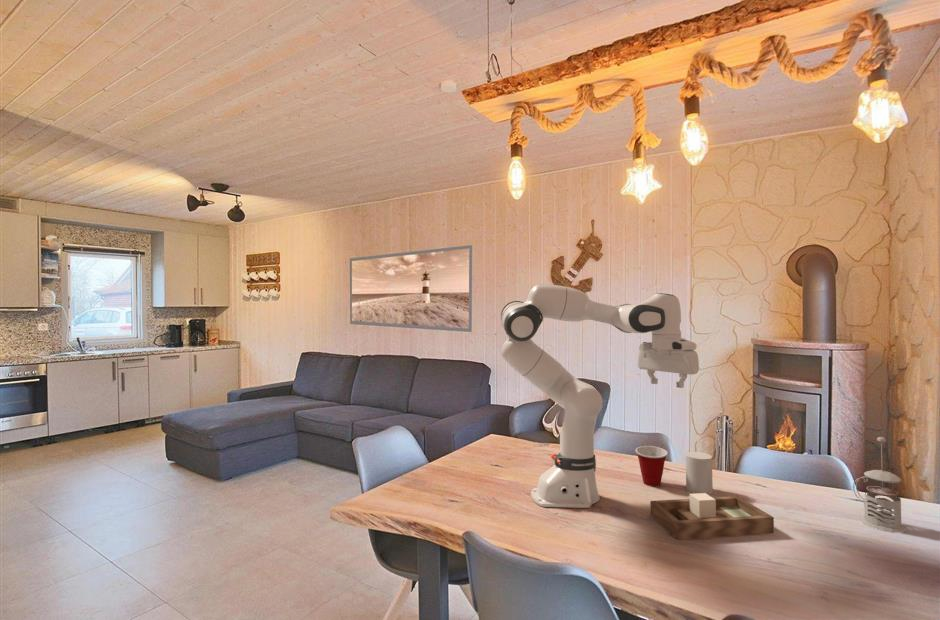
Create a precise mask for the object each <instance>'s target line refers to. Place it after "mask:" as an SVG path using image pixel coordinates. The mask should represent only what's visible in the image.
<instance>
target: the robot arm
mask: <svg viewBox="0 0 940 620" xmlns="http://www.w3.org/2000/svg"><path fill="white" fill-rule="evenodd" d="M681 312H682V310H681V303H680V299H679V298H678V297H677V296H676V295H673V294H669V293H663V292H662V293H661V292H660V293H658V292H657V293H655V294H653V295H652V296H650V297H649V298H648V299H646V300H643V301H641V302H638V303H633V304H632V303H624V304H620V305H610V304H606V303H601V302H596V301H593V300H591V298H590V297H589V296H588V294H587V293H585V292H584V291H582V290H579V289H576V288H573V287H568V286H563V285H559V284H558V285H557V284H544V283H543V284H536V285H533V287H532V288H531V289H530V291H529V293H528V295H527V299H526V300H525V301H524V302H523V301H520V300H515V301H514V300H513V301H510V302H508V303H507V304H505V305H504V307H503V308H502V310H501V313H500V321H501V324H502V325H501V326H502V328H503V330H504V331H505V333H506V335H507V339H506V340H505V341H504V343H503V344H502V346H501V347H502V348H501V356H502V358H503V359H504V360H505V362H507V364H508V365H509V366H510V367H511V368H513V369H514V371H516V373H518V374H519V375H520V376H522V377H523V378H524V379H525V380H527V381H528V382H529V383H531V384H532V385H534V386H535V387H536V388H537V389H539V390H540V391H541V392H542V393H544V394H545V396H547V397H548V398H549V399H551V400H552V401H553V402H554V403H556V405H558V406H559V407H561V408H563V409H564V415H563V416H564V417H563V422H562V427H561V428H560V430H559V449H560V450H559V453H558V454H557V453H555V452H552V453H551V454H550V458H551V459H552V460H553V461H554V464H553V465H552V466H551V467H550V468H549V469H547V470H545V471H544V472H543V473H542V474H541V475H539V478H538V483H537V487H534V488H532V489H531V493H530V494H531V495H530V496H531V498H532V500H533V501H534V502H535V503H536V504H537V505H539V506H541V507H543V508H546V507H547V508H575V509H576V508H577V509H582V508H583V509H588V508H589V509H590V508H591V507H592V505H593V504H595V503H598V502H599V501H600V499H601V498H600V494H599V490H598V485H597V481H596V480H597V479H596V467H597V461H596V454H595V442H594V441H595V435H594V434H595V428H596V423H597V418H598V417H597V416H598V414H599V413H600V412H601V410H602V408H603V404H604V403H603V396H602V395H601V392H599V391H598V390H597V388H595V386H593V385H591V384H589V383H588V382H585V381H583V380H580V379H578V378H576V377H575V376H574V375H572V373H570V372H569V371H568V370H567V369H566V368H565V367H564V366H563V365H562V364H561V363H560V362H559V361H558V360H557V359H556V358H554V357H553V356H552V355H550V354H549V353H547V352H546V351H545V350H544V349H543V348H541V347H540V346H539V345H537V344H536V343H535V342H534V341H533V340H532V338H533V337H534V336H535V335H536V333H537V332H538V330H539V328H540V326H541V324H542V322H543V321H544V319H545V318H546V319H552V320H557V321H562V322H572V323H573V322H575V323H577V322H583V321H587V320H588V321H594V322H600V323H605V324H609V325H611V326H613V327H615V328H616V329H618V330H619V332H622V333H625V334H626V333H627V334H631V333H633V334H647V333H650V332H651V342H650V341H649V342H647V341H643V342H642V343H640V345H638V357H637V358H638V359H637V367H638V368H639V370H647V375H648V376H649V378H650V384H651V385H657V384H658V382H659V381H658V379H659V378H656V376H655V374H656V372H664V373H665V372H666V373H672V374H678V376H679V381H676V384H675V385H676V388H680V389H682V388H684V387H685V382H686V380H687V378H688V375H690V376H691V375H696V374H698V373H699V371H700V362H699V356H698V352H696V351H695V350H697V344H696V342H693V341H691V340H688V339H687V338H684V337H682V332H681V329H680V328H681V327H680V326H681V323H682V313H681Z"/></svg>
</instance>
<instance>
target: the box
mask: <svg viewBox="0 0 940 620" xmlns="http://www.w3.org/2000/svg"><path fill="white" fill-rule="evenodd" d="M711 497H712V496H711ZM712 498H714V499H715V500H716V517H708V518H699V517H698V516H696V515H695V514H694V513H692V512H691V511H690V498H680V499H661V500H650V503H649V506H650V517H651V518H652V519H654V520H655V521H656V522H657V523H658V524H659V525H660V526H661V527H663V528H664V529H665V530H666V531H667V532H668V533H669V534H670V535H671V536H672V537H674V539H676V540H678V541H679V540H680V541H681V540H682V541H683V540H694V539H696V540H697V539H709V538H710V539H713V538H722V537H723V538H725V537H727V538H728V537H741V536H742V537H745V536H755V535H757V536H758V535H760V536H761V535H774V534H775V525H774V524H775V523H774V522H775V521H774V516H773V515H771V514H769V513H767V512H765V511H764V510H762V509H760V508H759V507H757V506H755V505H753V504H751V503H750V502H748V501H747V500H745V499H743V498H742V497H740V496H739V495H735V496H733V495H731V496H715V497H712Z"/></svg>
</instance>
